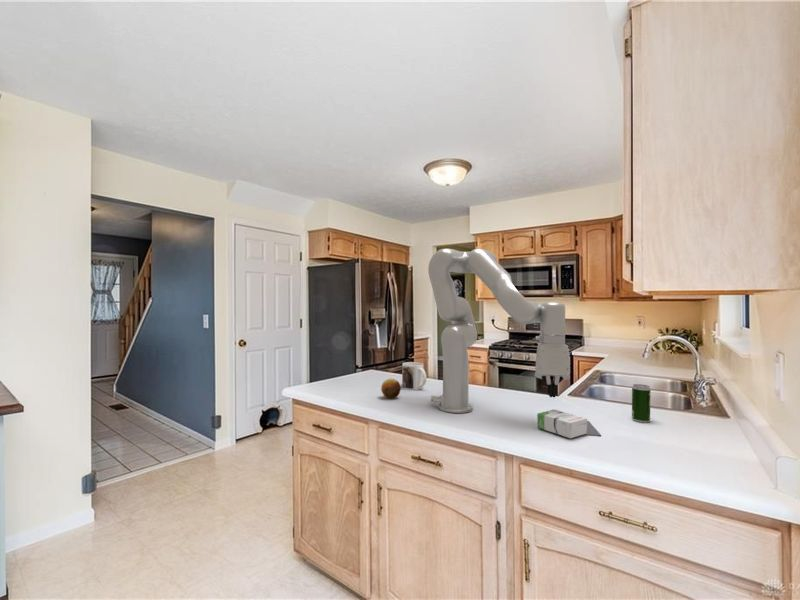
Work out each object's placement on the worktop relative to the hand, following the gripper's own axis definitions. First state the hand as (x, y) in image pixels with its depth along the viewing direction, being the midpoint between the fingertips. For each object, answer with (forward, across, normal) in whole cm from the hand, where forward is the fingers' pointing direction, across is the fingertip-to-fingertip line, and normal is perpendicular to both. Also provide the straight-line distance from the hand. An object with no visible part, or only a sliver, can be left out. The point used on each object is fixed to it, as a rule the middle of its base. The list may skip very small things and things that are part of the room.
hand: (551, 396), depth 126 cm
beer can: (+10, +31, +13) cm, 35 cm away
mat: (+10, +6, 0) cm, 12 cm away
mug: (+10, -53, +41) cm, 68 cm away
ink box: (+7, -2, -2) cm, 7 cm away
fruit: (+10, -59, +21) cm, 63 cm away
